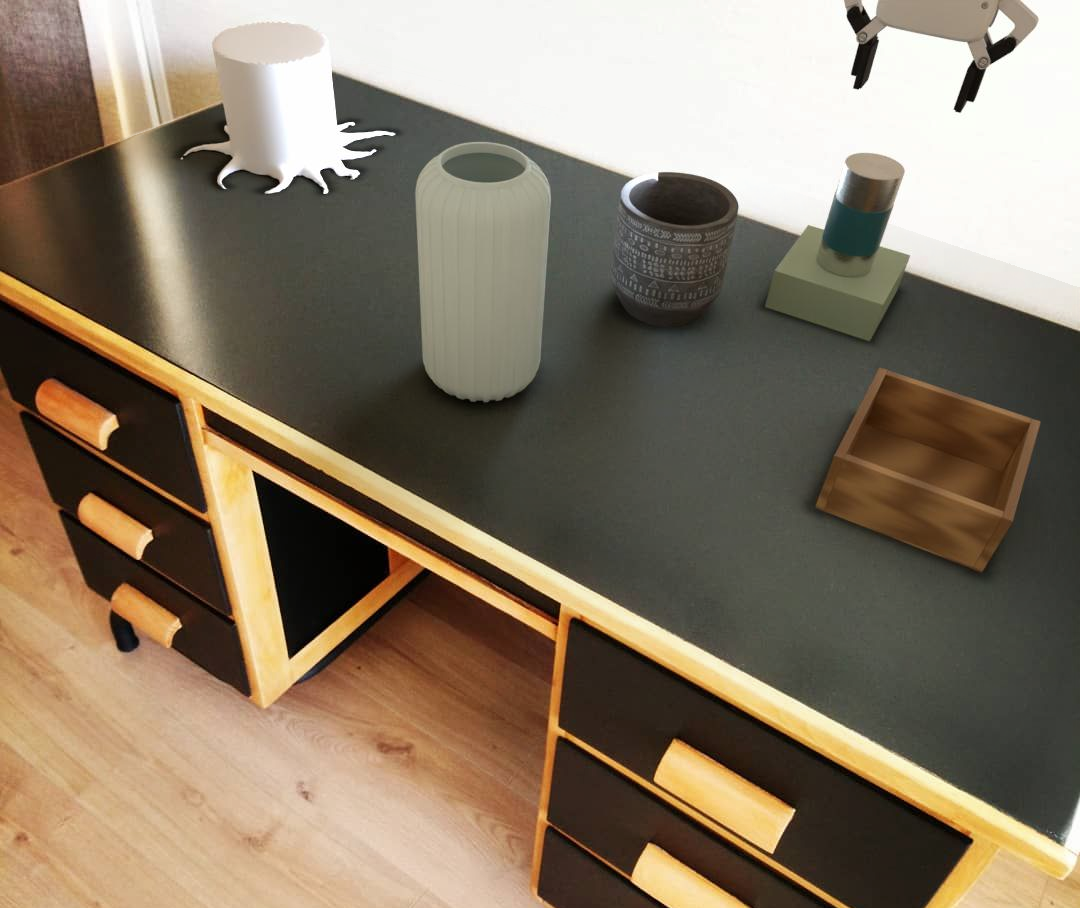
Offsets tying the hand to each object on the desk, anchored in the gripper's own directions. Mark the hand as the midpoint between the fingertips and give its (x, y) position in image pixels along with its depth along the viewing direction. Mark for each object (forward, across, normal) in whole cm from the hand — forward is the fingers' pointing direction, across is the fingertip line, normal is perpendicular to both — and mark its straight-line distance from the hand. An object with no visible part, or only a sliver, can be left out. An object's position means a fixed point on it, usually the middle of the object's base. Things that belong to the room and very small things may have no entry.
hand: (909, 95), depth 90 cm
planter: (+23, +17, +13) cm, 31 cm away
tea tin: (+18, +1, +1) cm, 18 cm away
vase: (+22, +28, +35) cm, 50 cm away
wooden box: (+23, -15, +28) cm, 39 cm away
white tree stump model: (+22, +75, +7) cm, 79 cm away
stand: (+23, +1, +1) cm, 23 cm away
